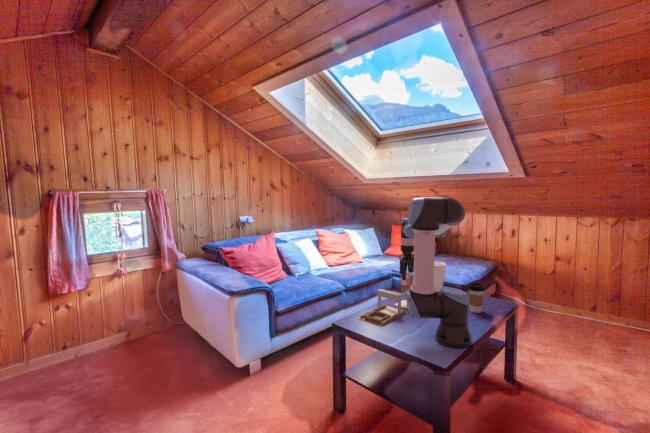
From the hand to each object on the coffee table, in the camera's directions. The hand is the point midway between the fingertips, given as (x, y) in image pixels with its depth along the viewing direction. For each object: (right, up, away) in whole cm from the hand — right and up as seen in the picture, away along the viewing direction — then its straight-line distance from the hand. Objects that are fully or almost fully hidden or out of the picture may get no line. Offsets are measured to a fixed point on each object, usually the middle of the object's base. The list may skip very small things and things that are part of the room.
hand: (407, 284), depth 190 cm
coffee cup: (+36, -13, -9) cm, 39 cm away
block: (0, -4, 0) cm, 4 cm away
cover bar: (-13, -11, -14) cm, 22 cm away
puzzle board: (-17, -14, -18) cm, 28 cm away
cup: (+22, -11, +14) cm, 28 cm away
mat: (0, -13, +1) cm, 13 cm away
